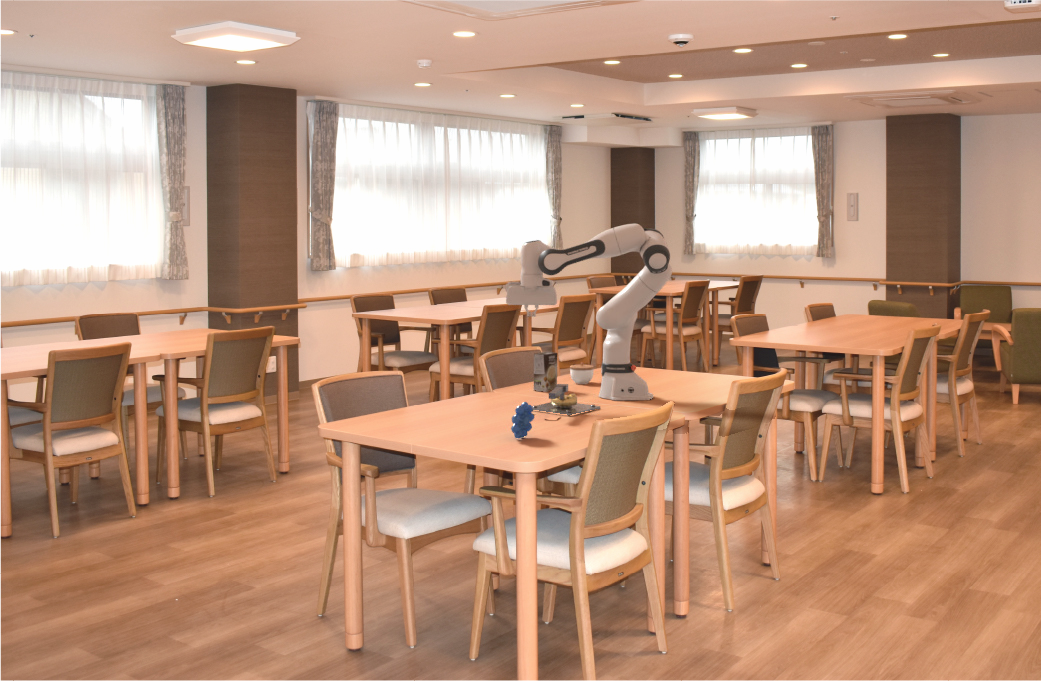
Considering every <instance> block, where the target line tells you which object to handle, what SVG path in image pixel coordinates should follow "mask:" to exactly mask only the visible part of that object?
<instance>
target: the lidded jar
mask: <svg viewBox="0 0 1041 681" xmlns="http://www.w3.org/2000/svg"><path fill="white" fill-rule="evenodd" d="M594 370H595V367H594V365H592V364H584V362H583V361H581V362H580V364H572V365H570V366H569V371H570V378H571V380H572V381H573V382H574V384H575V383H577V384H576V385H588V384H589V383H590V382H591V381H592V379H593V377H594Z"/></svg>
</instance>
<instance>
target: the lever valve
mask: <svg viewBox="0 0 1041 681" xmlns="http://www.w3.org/2000/svg"><path fill="white" fill-rule="evenodd" d="M568 391H569V384H567V383H557V385H556V388H555V389H553V390H552V391H549V392H548V399H550V402H551V404H552V405H557V406H572V405H576V404H577V403H578V396H577V395H576V393H569V394H565V393H568Z"/></svg>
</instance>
